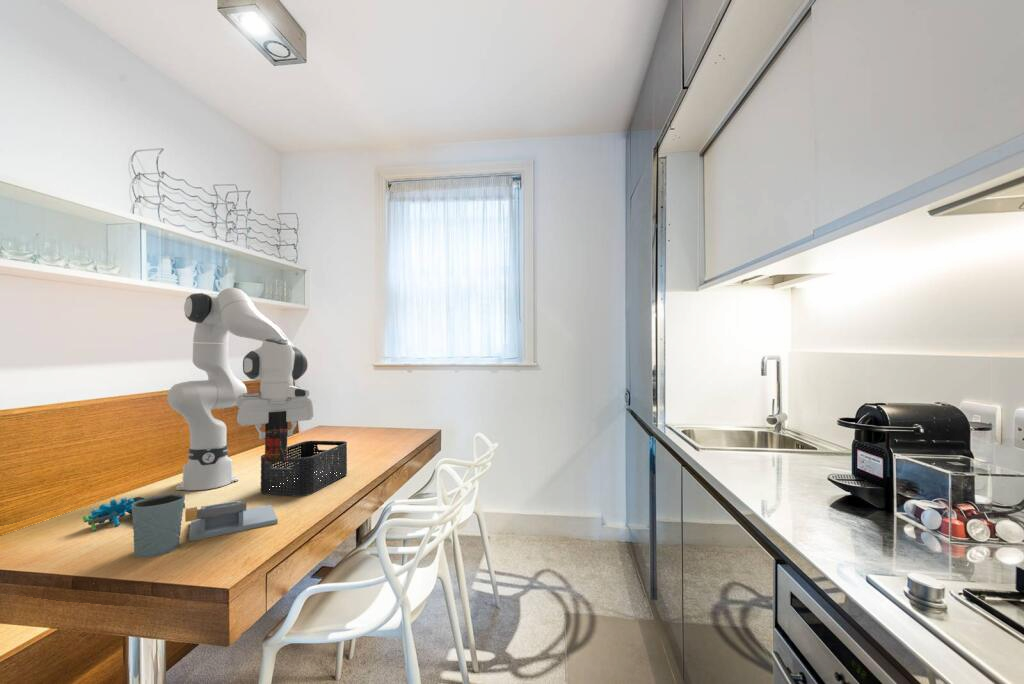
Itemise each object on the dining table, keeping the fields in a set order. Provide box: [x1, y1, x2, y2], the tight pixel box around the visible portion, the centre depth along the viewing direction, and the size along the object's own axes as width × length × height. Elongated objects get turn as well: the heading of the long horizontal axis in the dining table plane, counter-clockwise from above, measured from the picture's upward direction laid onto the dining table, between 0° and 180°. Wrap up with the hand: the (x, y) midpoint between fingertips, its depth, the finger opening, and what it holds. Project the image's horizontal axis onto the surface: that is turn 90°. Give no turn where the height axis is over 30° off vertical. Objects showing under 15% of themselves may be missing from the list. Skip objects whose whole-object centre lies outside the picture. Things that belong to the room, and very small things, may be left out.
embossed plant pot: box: [131, 493, 186, 559], centre depth 106 cm, size 10×10×12 cm
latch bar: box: [184, 501, 247, 523], centre depth 116 cm, size 3×13×3 cm, turn 125°
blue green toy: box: [82, 497, 134, 532], centre depth 122 cm, size 11×6×10 cm
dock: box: [188, 499, 278, 542], centre depth 122 cm, size 15×20×5 cm
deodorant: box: [264, 411, 289, 463], centre depth 131 cm, size 6×6×15 cm
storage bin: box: [260, 440, 348, 497], centre depth 162 cm, size 29×19×13 cm
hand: (276, 437), depth 131 cm, fingers closed on deodorant, 6 cm apart
